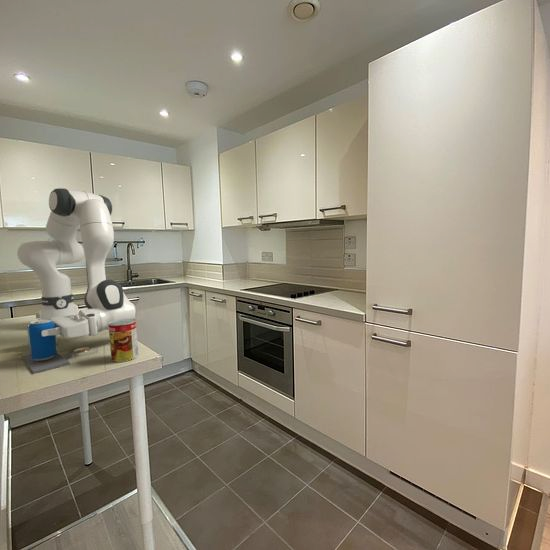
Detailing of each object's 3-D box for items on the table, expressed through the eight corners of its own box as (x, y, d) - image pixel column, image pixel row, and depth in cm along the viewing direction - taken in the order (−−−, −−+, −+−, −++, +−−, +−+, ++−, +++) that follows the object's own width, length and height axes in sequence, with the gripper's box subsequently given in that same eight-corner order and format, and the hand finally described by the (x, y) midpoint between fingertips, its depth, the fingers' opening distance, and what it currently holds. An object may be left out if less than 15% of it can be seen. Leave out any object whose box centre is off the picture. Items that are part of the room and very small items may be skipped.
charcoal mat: (21, 357, 103) (21, 355, 103) (53, 350, 110) (53, 348, 110) (33, 373, 90) (33, 371, 90) (69, 364, 96) (69, 362, 96)
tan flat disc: (70, 350, 109) (70, 350, 109) (87, 346, 113) (87, 346, 113) (75, 353, 105) (75, 353, 105) (92, 349, 109) (92, 349, 109)
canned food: (113, 355, 103) (110, 320, 102) (139, 352, 106) (136, 317, 104) (109, 364, 96) (106, 326, 94) (137, 360, 98) (134, 323, 97)
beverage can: (40, 354, 102) (37, 319, 101) (61, 354, 103) (58, 318, 102) (26, 362, 96) (22, 324, 95) (48, 361, 96) (44, 323, 95)
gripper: (77, 309, 115) (30, 316, 105) (96, 317, 101) (44, 326, 91) (79, 325, 115) (32, 335, 105) (98, 336, 101) (47, 347, 91)
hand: (38, 331), depth 98 cm, fingers closed on beverage can, 6 cm apart
